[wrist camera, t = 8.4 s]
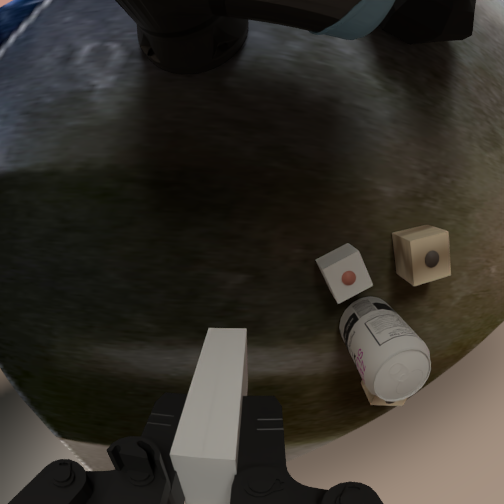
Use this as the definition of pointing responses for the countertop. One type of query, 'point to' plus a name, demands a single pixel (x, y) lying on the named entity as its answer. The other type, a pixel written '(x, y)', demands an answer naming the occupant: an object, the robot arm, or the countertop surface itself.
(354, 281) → the grey plastic block
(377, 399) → the maple block
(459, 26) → the bottle
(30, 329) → the countertop surface
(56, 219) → the countertop surface
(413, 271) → the maple block
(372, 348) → the supplement can
